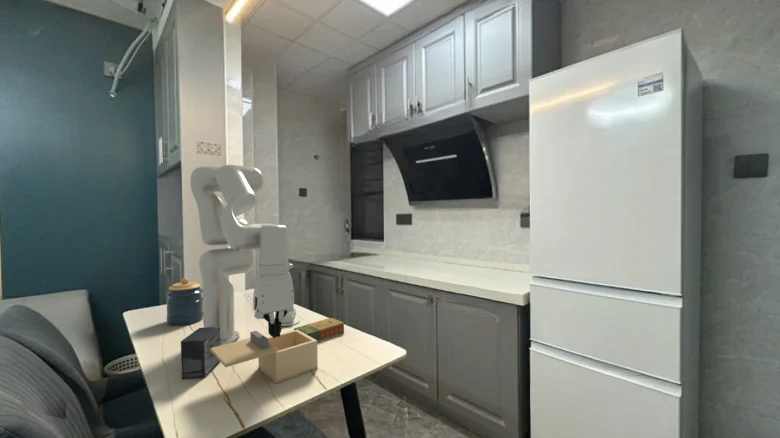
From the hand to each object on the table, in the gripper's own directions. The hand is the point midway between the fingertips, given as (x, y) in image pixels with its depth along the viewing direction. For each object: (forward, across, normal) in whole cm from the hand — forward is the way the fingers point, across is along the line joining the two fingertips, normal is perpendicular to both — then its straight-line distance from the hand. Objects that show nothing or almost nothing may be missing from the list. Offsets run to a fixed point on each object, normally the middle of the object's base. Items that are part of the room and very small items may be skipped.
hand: (274, 335), depth 91 cm
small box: (+10, +14, -16) cm, 24 cm away
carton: (+11, -23, -16) cm, 30 cm away
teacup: (+11, -21, -37) cm, 44 cm away
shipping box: (+10, -4, 0) cm, 11 cm away
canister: (+11, +9, -68) cm, 69 cm away
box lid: (+2, +8, 0) cm, 9 cm away
